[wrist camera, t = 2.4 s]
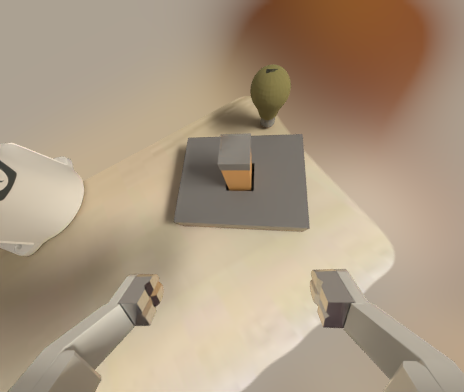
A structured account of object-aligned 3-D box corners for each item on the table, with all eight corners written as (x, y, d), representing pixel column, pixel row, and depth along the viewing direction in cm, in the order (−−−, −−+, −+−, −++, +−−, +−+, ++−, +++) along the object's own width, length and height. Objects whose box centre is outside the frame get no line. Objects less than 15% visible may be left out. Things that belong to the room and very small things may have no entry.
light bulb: (260, 142, 30) (262, 92, 21) (246, 120, 32) (242, 65, 22) (288, 129, 30) (303, 73, 21) (273, 108, 32) (280, 48, 22)
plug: (230, 195, 27) (217, 164, 18) (232, 174, 28) (220, 134, 19) (251, 195, 26) (249, 164, 17) (252, 174, 28) (250, 133, 18)
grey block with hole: (183, 225, 27) (173, 222, 24) (195, 149, 31) (188, 137, 28) (302, 231, 24) (309, 228, 21) (297, 147, 29) (302, 134, 25)
